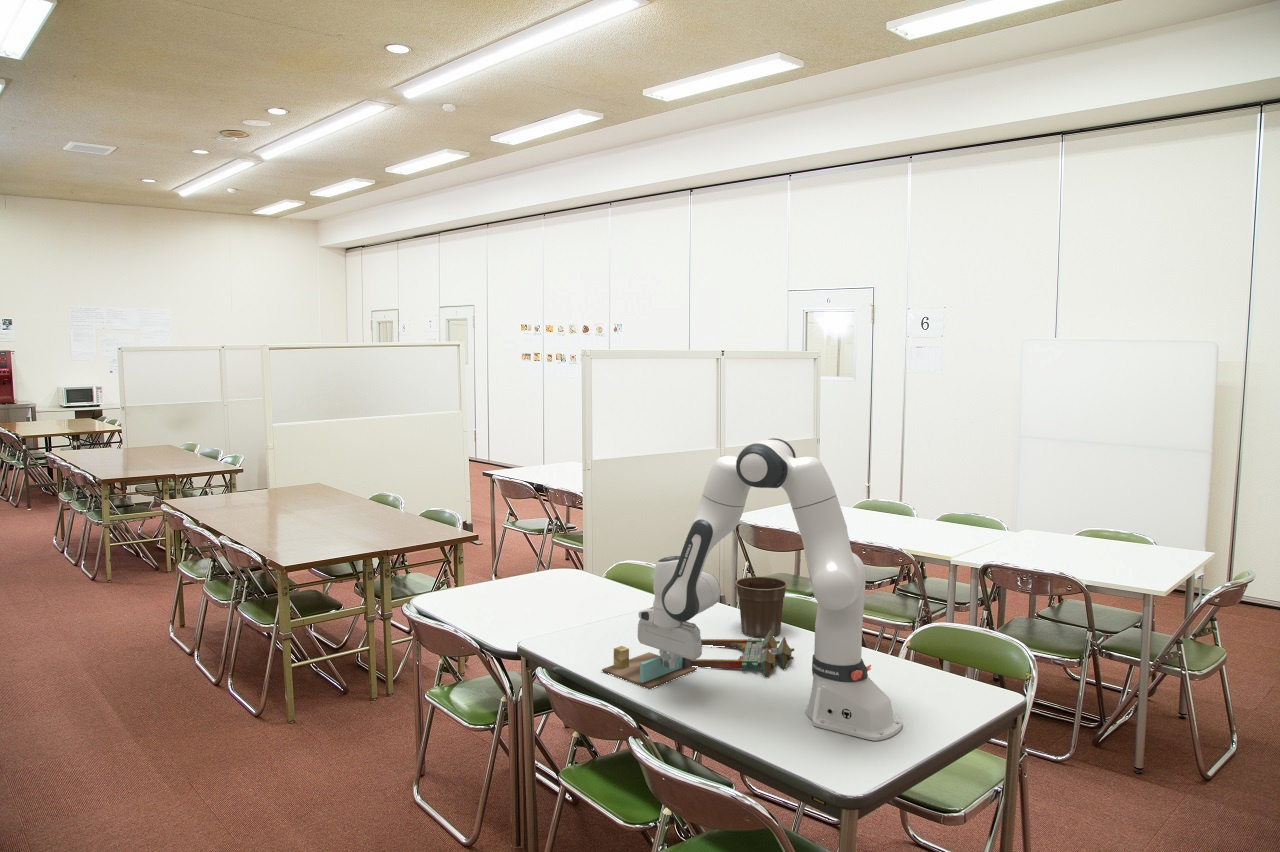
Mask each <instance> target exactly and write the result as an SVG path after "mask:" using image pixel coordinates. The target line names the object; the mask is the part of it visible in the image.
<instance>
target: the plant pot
mask: <svg viewBox="0 0 1280 852" xmlns="http://www.w3.org/2000/svg"><path fill="white" fill-rule="evenodd" d="M735 586H736V590H737V596H738V600H739V601H738V602H739V614H740V625H741V627H740V628H741V633H742V632H743V634H744V635H745V634H747V635H749V636H748V637H751V636H753V637H752V638H758V637H761V639H765V638H766V636H767V634H768V633H769V631H770V630H771V632H772V635H773V636H775V637H777V636H779V635H780V634H781V631H782V630H781V629H782V617H783V607H784V598H785V595H786V587H787V586H788V583H787V582H786V581H785V580H784V579H780V578H776V577H771V576H770V577H769V576H747V577H746V576H745V577H742V578H739V579H736V580H735ZM747 635H746V636H747Z"/></svg>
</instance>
